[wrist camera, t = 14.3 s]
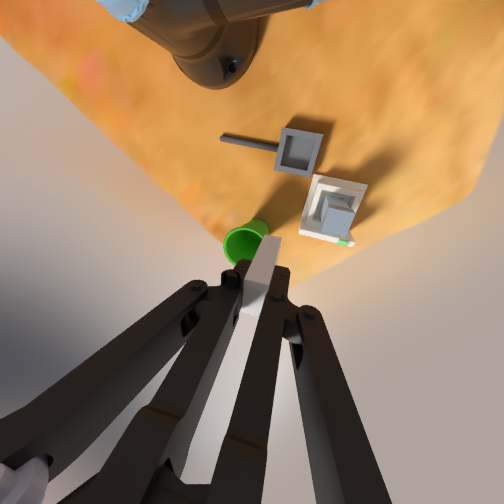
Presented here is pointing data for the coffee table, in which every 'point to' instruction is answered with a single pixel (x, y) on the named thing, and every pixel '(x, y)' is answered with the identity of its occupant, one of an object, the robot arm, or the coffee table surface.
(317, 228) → the tray
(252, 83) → the coffee table surface
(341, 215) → the plug
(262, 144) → the cord
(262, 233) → the cup
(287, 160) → the grey square socket
